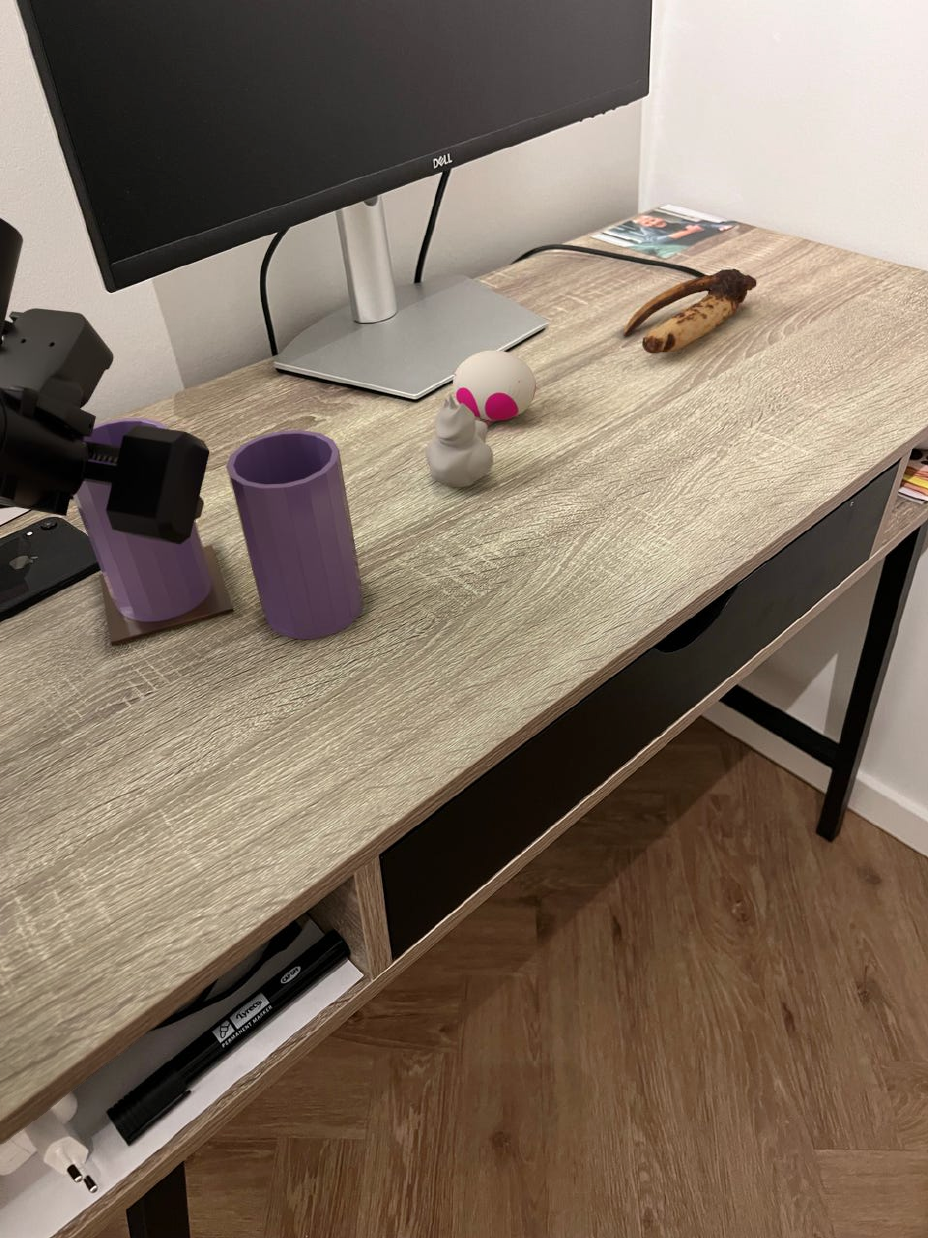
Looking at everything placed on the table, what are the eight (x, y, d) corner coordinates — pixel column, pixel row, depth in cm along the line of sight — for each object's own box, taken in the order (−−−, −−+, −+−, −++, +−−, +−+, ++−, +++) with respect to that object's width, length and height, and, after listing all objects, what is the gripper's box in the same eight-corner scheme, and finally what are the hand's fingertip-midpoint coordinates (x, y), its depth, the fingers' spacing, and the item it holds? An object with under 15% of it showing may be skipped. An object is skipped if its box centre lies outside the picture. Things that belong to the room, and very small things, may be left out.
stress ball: (453, 450, 90) (427, 415, 84) (479, 373, 91) (455, 333, 85) (529, 461, 87) (507, 426, 81) (554, 382, 88) (535, 341, 82)
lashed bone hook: (687, 294, 107) (592, 352, 96) (689, 250, 104) (593, 304, 93) (766, 310, 101) (676, 372, 91) (771, 264, 99) (679, 322, 88)
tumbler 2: (277, 651, 65) (238, 498, 57) (255, 592, 70) (217, 445, 62) (375, 622, 67) (351, 470, 59) (347, 567, 72) (322, 420, 64)
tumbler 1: (139, 635, 66) (84, 485, 59) (99, 589, 71) (43, 443, 63) (229, 592, 69) (188, 443, 62) (186, 550, 74) (142, 407, 66)
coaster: (112, 646, 66) (110, 642, 66) (100, 578, 72) (99, 574, 72) (234, 612, 68) (232, 608, 68) (213, 548, 74) (211, 544, 74)
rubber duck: (413, 488, 79) (402, 399, 74) (456, 451, 83) (449, 363, 78) (469, 505, 77) (463, 413, 72) (511, 465, 81) (508, 376, 76)
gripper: (144, 298, 49) (289, 399, 63) (-135, 271, 54) (58, 369, 69) (94, 516, 48) (252, 566, 63) (-182, 465, 54) (22, 522, 69)
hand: (142, 499), depth 66 cm, fingers open, 9 cm apart
